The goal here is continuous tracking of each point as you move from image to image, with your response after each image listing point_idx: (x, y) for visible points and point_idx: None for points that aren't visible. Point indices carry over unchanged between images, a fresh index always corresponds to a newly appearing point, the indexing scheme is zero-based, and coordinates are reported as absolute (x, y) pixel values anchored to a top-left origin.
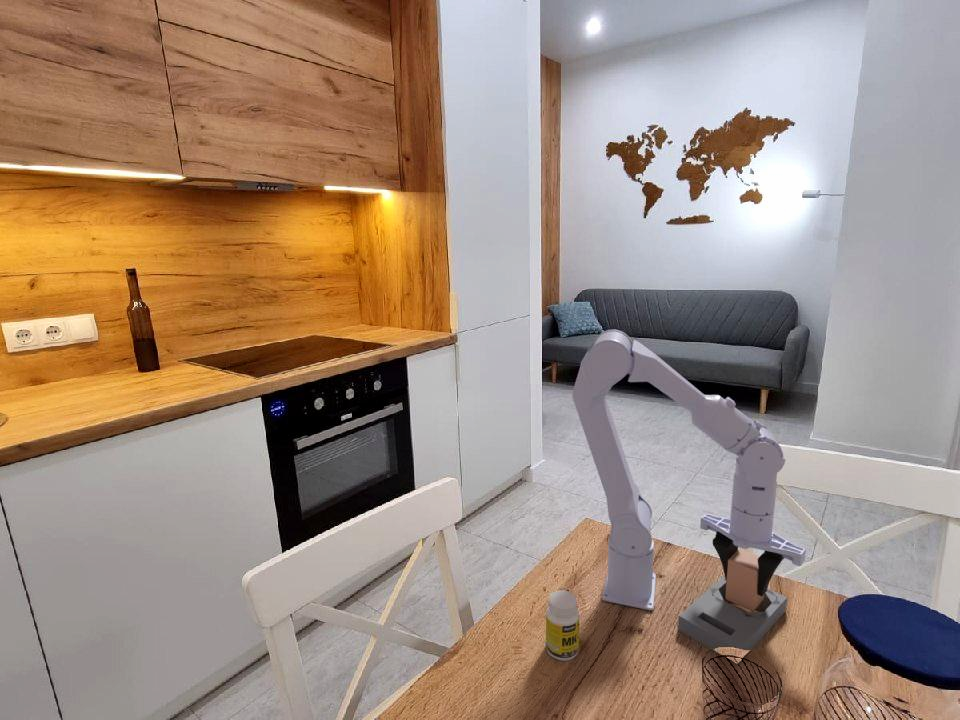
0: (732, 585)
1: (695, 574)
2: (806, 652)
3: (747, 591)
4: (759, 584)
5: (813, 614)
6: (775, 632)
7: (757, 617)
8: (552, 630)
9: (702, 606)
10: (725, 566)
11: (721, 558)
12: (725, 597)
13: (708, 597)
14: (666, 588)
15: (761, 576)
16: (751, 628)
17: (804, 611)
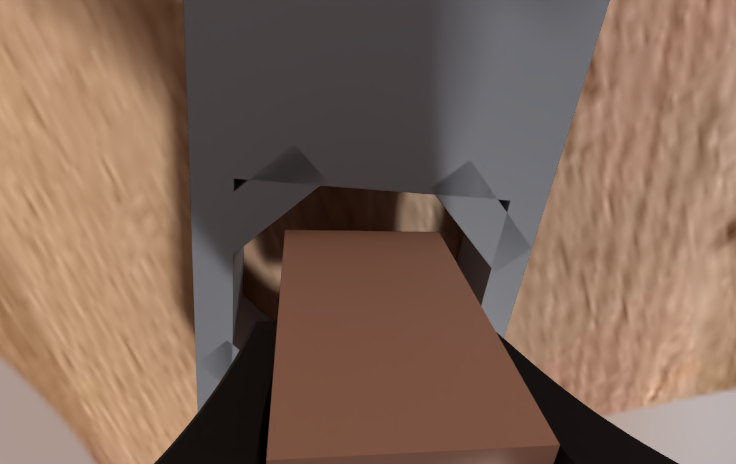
0: (431, 289)
1: (590, 337)
2: (11, 176)
3: (331, 293)
4: (260, 371)
5: (126, 415)
6: (181, 213)
7: (239, 188)
8: None
9: (535, 55)
10: (535, 385)
11: (605, 430)
12: (440, 237)
13: (522, 166)
14: (697, 166)
15: (234, 435)
16: (218, 54)
17: (159, 409)
